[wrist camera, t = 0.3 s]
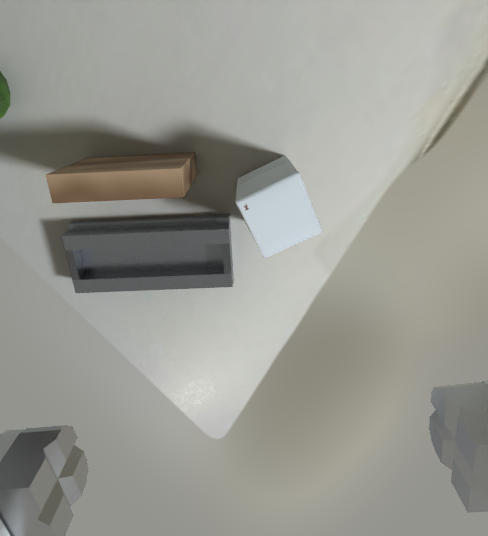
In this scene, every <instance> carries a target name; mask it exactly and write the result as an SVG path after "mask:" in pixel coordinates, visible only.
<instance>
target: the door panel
mask: <svg viewBox="0 0 488 536" xmlns="http://www.w3.org/2000/svg"><path fill="white" fill-rule="evenodd" d="M196 176H197V171H196V161H195V153H174V154H154V155H133V156H112V157H92V158H86V159H84V160H81V161H79V162H76V163H74V164H71V165H69V166H66V167H64V168H61V169H59V170H56V171H54V172H51V173H49V174H46V178H47V182H48V186H49V190H50V194H51V198H52V202H53V203H68V202H90V201H112V200H134V199H156V198H178V197H184V196H185V194H186V193H187V191H188V190H189V188H190V186H191V185H192V183H193V181H194V180H195V178H196Z"/></svg>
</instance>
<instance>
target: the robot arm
mask: <svg viewBox="0 0 488 536" xmlns="http://www.w3.org/2000/svg"><path fill="white" fill-rule="evenodd" d="M431 403H432V404H433V406H434V408H435V409H436V410H435V412H434V413H433V414H432V415H431V416H430V424H429V429H430V435H431V440H432V443H433V446H434V448H435V451H436V453H437V455H438V457H439V459H440V461H441V463H443V464H444V465H446V466H447V467H448V468H450V469H451V470H452V478H451V482H452V484H453V486H454V487H455V489H456V491H457V493H458V495H459V497H460V499H461V501H462V503H463V504H464V506H465V508H466V510H467V512H484V511H488V381H483V382H474V383H466V384H457V385H448V386H439V387H434V388H433V390H432V393H431ZM77 438H78V437H77V435H76V433H75V431H74V429H73V427H72V426H67V425H66V426H53V427H40V428H27V429H21V430H7V431H5V432H3V433H1V434H0V536H65V534H66V532H67V529H68V527H69V524H70V522H71V520H72V517H73V513H72V509H71V505H72V504H73V503H74V502H75V501H76V500H77V499H78V498H79V497H80V496H82V493H83V490H84V488H85V485H86V481H87V474H88V465H87V458H86V456H85V453H84V451H83V450H81V449H80V448H78V447H77V446H75V445H74V444H75V442H76V440H77Z"/></svg>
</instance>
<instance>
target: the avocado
mask: <svg viewBox="0 0 488 536" xmlns="http://www.w3.org/2000/svg"><path fill="white" fill-rule="evenodd" d="M9 106H10V91H9V87H8V84H7V81H6V79H5V77H4V76H3V74H2V73H1V72H0V118H2V117H3V116H4V115H5V113H6V111H7V110H8V108H9Z"/></svg>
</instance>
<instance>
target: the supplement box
mask: <svg viewBox="0 0 488 536" xmlns="http://www.w3.org/2000/svg"><path fill="white" fill-rule="evenodd" d="M235 203H236V205H237V207H238V209H239V211H240V213H241V215H242V217H243V219H244V221H245V222H246V224H247V226H248V228H249V230H250V232H251V234H252V236H253V238H254V240H255V241H256V243H257V245H258V247H259V249H260V251H261V253H262V255H263V257H264V258H266V257H268V256H270V255H273V254H275V253H277V252H280V251H282V250H284V249H286V248H289V247H291V246H293V245H295V244H298V243H300V242H302V241H304V240H307V239H309V238H311V237H313V236H316V235H318V234H320V233H322V232H323V231H322V228H321V226H320V223H319V221H318V218H317V216H316V213H315V210H314V208H313V205H312V203H311V200H310V198H309V195H308V193H307V190H306V187H305V185H304V182H303V180H302V177H301V175H300V173H299V172H298V171H297V170H296V169H295V167H294V166H293V164H292V163H291V162H290V160H289V159H288V158H287V157H286V156H282V157H280V158H278V159H276V160H274V161H272V162H270V163H268V164H266V165H263V166H261V167H259V168H257V169H255V170H253V171H251V172H249V173H247V174H245V175H243V176H241V177H239V178H237V188H236V201H235Z"/></svg>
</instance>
